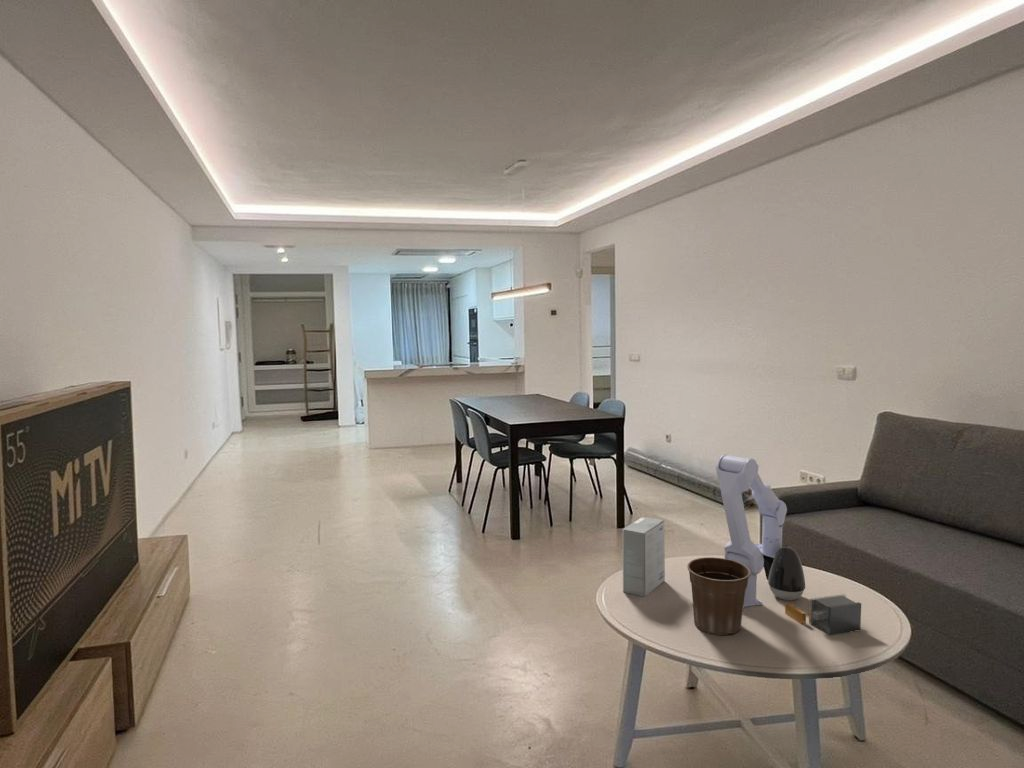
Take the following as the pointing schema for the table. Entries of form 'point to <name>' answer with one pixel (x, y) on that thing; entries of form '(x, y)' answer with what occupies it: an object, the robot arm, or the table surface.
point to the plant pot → (718, 594)
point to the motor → (829, 614)
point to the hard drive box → (643, 556)
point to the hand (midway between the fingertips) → (770, 580)
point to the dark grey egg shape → (786, 575)
